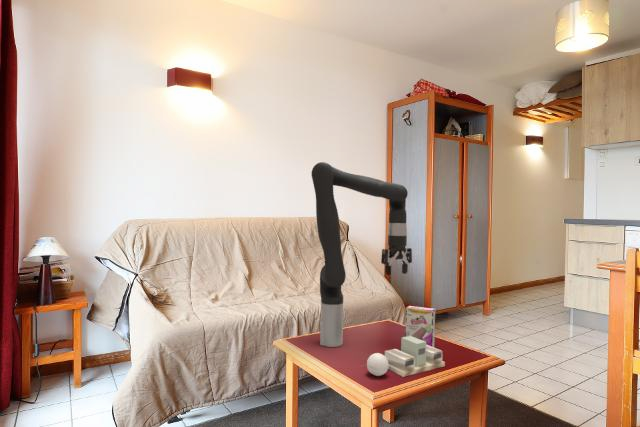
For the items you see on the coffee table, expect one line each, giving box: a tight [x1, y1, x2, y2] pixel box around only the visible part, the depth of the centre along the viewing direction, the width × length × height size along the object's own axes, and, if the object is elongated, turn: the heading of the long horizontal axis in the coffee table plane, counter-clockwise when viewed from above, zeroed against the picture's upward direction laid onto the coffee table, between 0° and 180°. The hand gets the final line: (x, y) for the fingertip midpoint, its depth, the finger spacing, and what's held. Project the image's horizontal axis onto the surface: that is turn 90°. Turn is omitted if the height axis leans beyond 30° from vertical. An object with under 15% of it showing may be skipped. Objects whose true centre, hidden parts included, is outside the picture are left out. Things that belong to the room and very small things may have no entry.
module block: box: [400, 336, 426, 367], centre depth 149 cm, size 4×8×8 cm, turn 31°
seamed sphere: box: [360, 352, 389, 377], centre depth 141 cm, size 10×7×7 cm
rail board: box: [384, 345, 446, 378], centre depth 149 cm, size 20×11×6 cm, turn 121°
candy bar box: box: [404, 305, 436, 348], centre depth 169 cm, size 11×5×16 cm, turn 65°
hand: (396, 274), depth 168 cm, fingers open, 8 cm apart
